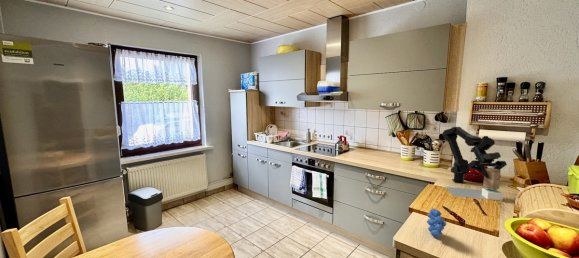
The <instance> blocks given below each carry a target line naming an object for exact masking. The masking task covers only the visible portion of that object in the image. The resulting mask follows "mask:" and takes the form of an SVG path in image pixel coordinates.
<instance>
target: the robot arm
mask: <svg viewBox="0 0 579 258" xmlns="http://www.w3.org/2000/svg"><path fill="white" fill-rule="evenodd" d="M441 135H442V137H443V139H444V140H445V141H446V142H447V143H448V145H449V148H450V150H451V154H452V156H453V159H454V161H453V164H452V165H453V166H452V167H451V168H450V172H451V173H452V174H453V178H451V181H452V182H454V183H458V184H466V182H465V175H468V174H469V172H470V170H474V171H475V172H478V173H479V174H480V175H482V176H483V177H484V176H485V177H486V178H489V176H488V174H487V172H486V170H485V168H486V167H491V168H494V169H498V170H501V169H503V168H504V167H506V166H507V165H508V163H507V162H506V160H505V161H504V160H498V159H500V158H501V154H500V152H499V151H495V152H487V151H489V150H490V148H492V147H493V146H494V145H495V143H496V142H495V140H494V139H493V138H491V137H489V136H488V135H484V136H482V138H481V137H480V136H477V135H473V134H471V133H469V132H468V131H466V130H464V129H463V128H462V127H460V126H452V127H451V128H448V129H444V131H442V133H441ZM458 137H460V138H461V139H463V140H464V143H465V144H466V145H467V146H468V147H471V148H470V153H474V156H475V158H474V159H475V160H471V161H470V162H469V161H468V160H467V159H464V157H463V155H462V152H461V150H460V147H459V144H458V142H457V140H458V139H457V138H458ZM495 160H496V161H495ZM494 161H495V162H494ZM501 176H502V175H501V173H500V179H501Z"/></svg>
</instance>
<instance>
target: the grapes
mask: <svg viewBox="0 0 579 258" xmlns="http://www.w3.org/2000/svg"><path fill="white" fill-rule="evenodd" d="M427 217H428V219H427V221H426V224H428V228H427V230H428V231H429V232H430V235H431V236H432V237H433V238H439V237H441V236H442V235H443V232H442V231H444V229H445V227H446V226H447V222H446V221H445V220H444V218H443V217H442V213H441V211H440V210H439V209H436V208H432V209H430V210H429V213H428V214H427Z"/></svg>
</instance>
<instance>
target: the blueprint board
mask: <svg viewBox="0 0 579 258" xmlns="http://www.w3.org/2000/svg"><path fill="white" fill-rule="evenodd" d="M444 187H445V189H446V190H447V191H448V192H449V193H450V194H451V195H452V196H453V197H461V198H470V199H481V200H490V201H499V202H502V203H504V200H503V198H504V193H502V192H501V191H500V190H499V189H495V190H491V189H488V188H485V187H482V188H481V189H474V188H467V187H466V188H465V187H452V186H444Z"/></svg>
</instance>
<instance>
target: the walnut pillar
mask: <svg viewBox="0 0 579 258" xmlns="http://www.w3.org/2000/svg"><path fill="white" fill-rule="evenodd" d="M485 170H486V172H487V174H488V176H489V178H486V177H485V176H483V185H482V188H486V189H491V190H495V189H497V190H499V189H500V183H501V182H500V181H501V178H500V174H501V169H500V170H498V169H494V168H492V167H487V168H486V167H485Z"/></svg>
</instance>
